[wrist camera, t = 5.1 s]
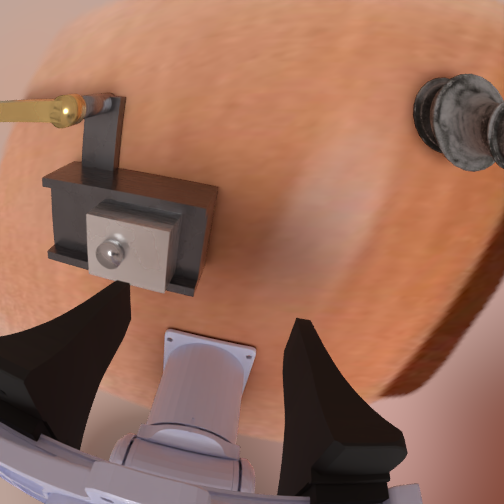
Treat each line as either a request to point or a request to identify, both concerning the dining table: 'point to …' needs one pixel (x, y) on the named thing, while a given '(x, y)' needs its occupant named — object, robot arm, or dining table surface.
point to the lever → (45, 110)
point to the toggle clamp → (124, 195)
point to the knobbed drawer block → (133, 244)
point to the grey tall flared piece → (462, 120)
